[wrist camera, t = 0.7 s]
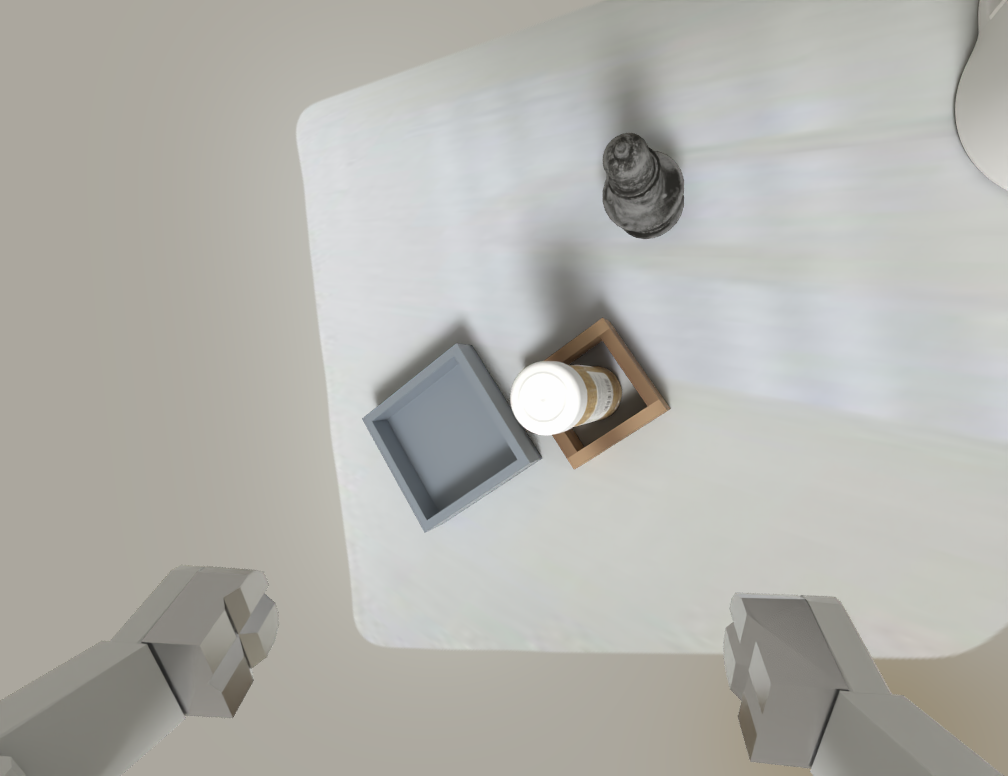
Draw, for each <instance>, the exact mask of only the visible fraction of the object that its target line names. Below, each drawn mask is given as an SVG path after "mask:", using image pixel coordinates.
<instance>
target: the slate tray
mask: <svg viewBox="0 0 1008 776" xmlns="http://www.w3.org/2000/svg"><path fill="white" fill-rule="evenodd" d="M362 420H363V421H364V423H365V425H366V427H367V429H368V430H369V432H370V434H371V436H372V438H373V440H374V441H375V443H376V445H377V447H378V449H379V450H380V452H381V454H382V456H383V458H384V460H385V461H386V463H387V465H388V467H389V469H390V470H391V472H392V474H393V476H394V478H395V480H396V481H397V483H398V485H399V487H400V489H401V490H402V492H403V494H404V496H405V498H406V499H407V501H408V503H409V505H410V507H411V509H412V510H413V512H414V514H415V516H416V518H417V519H418V521H419V523H420V525H421V527H422V529H423V530H424V532H427V531H429V530H432V529H434V528H436V527H438V526H440V525H442V524H443V523H445V522H446V521H448V520H449V519H451V518H452V517H454V516H455V515H457V514H458V513H460V512H461V511H463V510H465V509H466V508H468V507H469V506H471V505H472V504H474V503H475V502H477V501H478V500H480V499H481V498H483V497H484V496H486V495H487V494H489V493H490V492H492V491H493V490H495V489H496V488H498V487H499V486H501V485H502V484H504V483H505V482H507V481H508V480H510V479H512V478H513V477H515V476H516V475H518V474H519V473H521V472H522V471H524V470H525V469H527V468H528V467H530V466H531V465H533V464H534V463H536V462H537V461H539V460H540V459H542V457H541V456H540V454H539V452H538V451H537V449H536V447H535V446H534V444H533V443H532V441H531V439H530V438H529V436H528V435H527V433H526V431H525V430H524V428H523V427H522V425H521V424H520V423H519V422H518V420H517V419H516V417H515V415H514V413H513V411H512V409H511V407H510V406H509V404H508V402H507V401H506V399H505V398H504V396H503V394H502V393H501V391H500V390H499V388H498V386H497V385H496V383H495V382H494V380H493V378H492V377H491V375H490V374H489V372H488V370H487V369H486V367H485V366H484V364H483V362H482V361H481V359H480V358H479V356H478V354H477V353H476V351H475V349H474V348H473V346H472V345H466V344H459V343H456V344H455V345H453V346H452V347H451V348H450V349H448V350H447V351H446V352H445V353H443V354H442V355H441V356H440V357H438V358H437V359H436V360H435V361H433V362H432V363H431V364H430V365H428V366H427V367H426V368H425V369H423V370H422V371H421V372H420V373H418V374H417V375H416V376H415V377H413V378H412V379H411V380H410V381H408V382H407V383H406V384H405V385H403V386H402V387H401V388H400V389H398V390H397V391H396V392H395V393H393V394H392V395H391V396H390V397H388V398H387V399H386V400H385V401H383V402H382V403H381V404H380V405H378V406H377V407H376V408H375V409H373V410H372V411H371V412H370V413H369V414H367V415H366V416H365V417H364V418H362Z"/></svg>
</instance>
